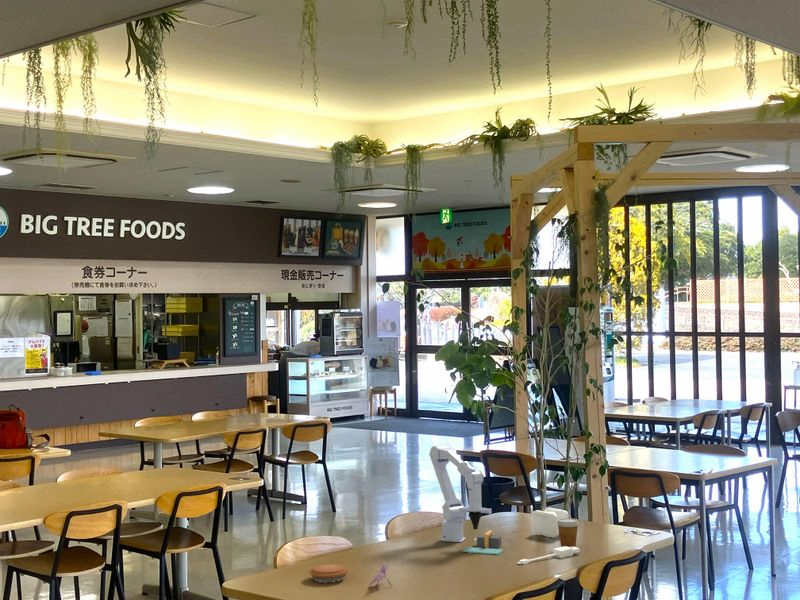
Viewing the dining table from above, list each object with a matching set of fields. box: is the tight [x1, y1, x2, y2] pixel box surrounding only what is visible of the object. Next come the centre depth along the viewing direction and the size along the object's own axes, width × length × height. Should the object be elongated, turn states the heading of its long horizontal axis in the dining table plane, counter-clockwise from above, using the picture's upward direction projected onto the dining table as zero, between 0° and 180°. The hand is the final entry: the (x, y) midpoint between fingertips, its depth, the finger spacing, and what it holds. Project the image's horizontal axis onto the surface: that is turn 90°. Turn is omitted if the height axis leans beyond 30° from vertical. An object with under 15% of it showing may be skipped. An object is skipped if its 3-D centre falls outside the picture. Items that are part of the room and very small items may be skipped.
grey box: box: [473, 534, 502, 549], centre depth 426 cm, size 12×5×5 cm, turn 71°
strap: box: [483, 530, 494, 548], centre depth 426 cm, size 2×9×6 cm, turn 160°
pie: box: [308, 563, 349, 582], centre depth 375 cm, size 15×16×5 cm
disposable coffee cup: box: [557, 518, 580, 547], centre depth 422 cm, size 10×10×12 cm
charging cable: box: [516, 546, 581, 565], centre depth 402 cm, size 5×32×3 cm, turn 123°
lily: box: [368, 561, 393, 587], centre depth 363 cm, size 12×12×10 cm
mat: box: [462, 546, 504, 556], centre depth 416 cm, size 16×8×1 cm, turn 70°
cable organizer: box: [531, 507, 570, 539], centre depth 447 cm, size 15×11×12 cm
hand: (475, 528), depth 428 cm, fingers closed
